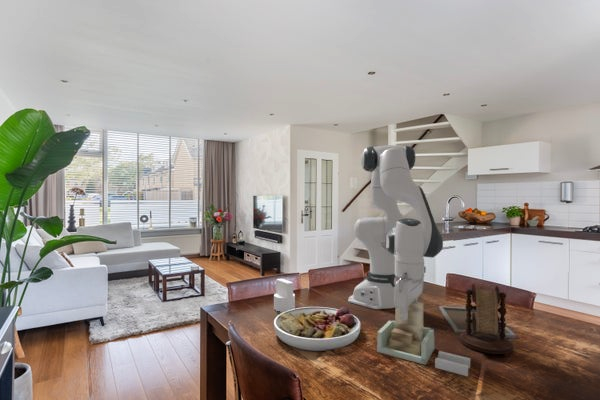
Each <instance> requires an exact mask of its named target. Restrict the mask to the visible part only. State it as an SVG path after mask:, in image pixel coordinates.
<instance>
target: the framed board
mask: <svg viewBox="0 0 600 400" xmlns="http://www.w3.org/2000/svg"><path fill="white" fill-rule="evenodd" d="M438 307H439V310H440V311H441V313H442V314H443V316H444V318H445V319H446V321H447V323H448V324H449V325H450V326H451V328H452V330H453V331H454V333H457V334H460V333H462V332H464V331H466V328H467V325H466V324H467V323H466V321H465V320H466V318H467V317H466V314H467V311H466V306H465V307H464V306H445V305H444V306H443V305H439V306H438ZM473 312H474V313H475V318H476V310H474V309H473V310H471V312H470V313H471V319H472V313H473ZM500 322H501V321H500ZM470 327H471V330H473V327H472V323H471V326H470ZM500 328H501V327H500ZM504 329H505V330H504V332H505V334H506V336H505V338H506V339H517V334H515V333H514V332H513V331H512V330H511V329H510V328H509V327H508V326H507V325H506V327H505V328H504ZM500 331H501V330H500Z"/></svg>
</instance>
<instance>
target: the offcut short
mask: <svg viewBox="0 0 600 400" xmlns="http://www.w3.org/2000/svg"><path fill="white" fill-rule="evenodd" d="M391 340H395V341H400V342H404V343H408V344H412V342H413V341H414V332H409V331H405V330H400V329H396V328H394V329H393V330H392V331H391Z"/></svg>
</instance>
